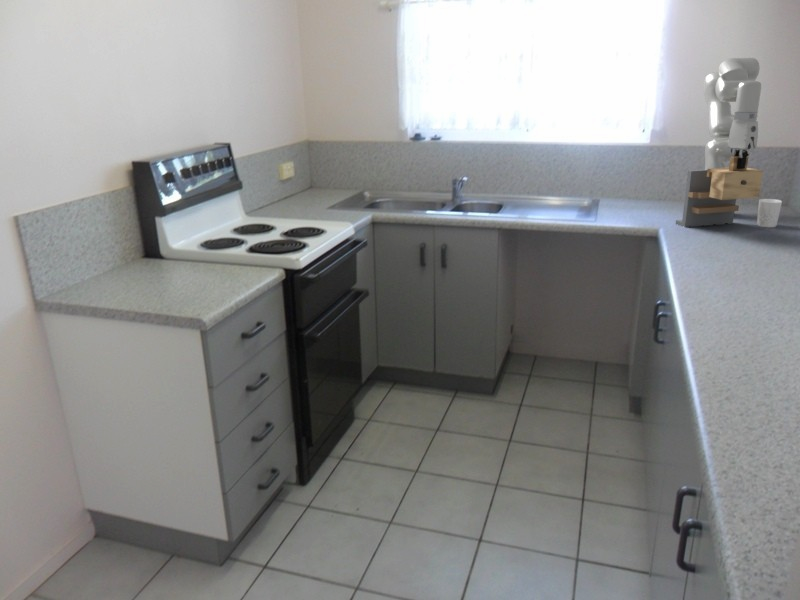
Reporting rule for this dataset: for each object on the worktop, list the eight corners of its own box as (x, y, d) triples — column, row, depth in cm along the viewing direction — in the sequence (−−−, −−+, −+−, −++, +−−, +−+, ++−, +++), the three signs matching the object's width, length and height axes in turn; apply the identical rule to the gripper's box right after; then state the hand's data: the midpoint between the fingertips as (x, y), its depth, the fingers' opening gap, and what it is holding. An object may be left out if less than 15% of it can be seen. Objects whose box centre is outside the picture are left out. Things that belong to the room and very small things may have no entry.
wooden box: (701, 195, 254) (706, 155, 249) (737, 192, 257) (743, 153, 252) (723, 200, 243) (729, 159, 238) (760, 197, 246) (767, 156, 241)
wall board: (675, 223, 267) (681, 169, 260) (722, 220, 271) (730, 166, 264) (691, 229, 257) (698, 172, 250) (740, 225, 262) (748, 169, 255)
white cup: (755, 227, 259) (759, 201, 256) (755, 222, 265) (759, 198, 262) (777, 228, 255) (782, 203, 252) (777, 224, 262) (781, 199, 259)
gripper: (770, 117, 233) (762, 170, 238) (738, 115, 247) (731, 165, 253) (752, 118, 231) (744, 171, 237) (721, 116, 246) (714, 166, 251)
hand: (738, 167), depth 245 cm, fingers closed on wooden box
